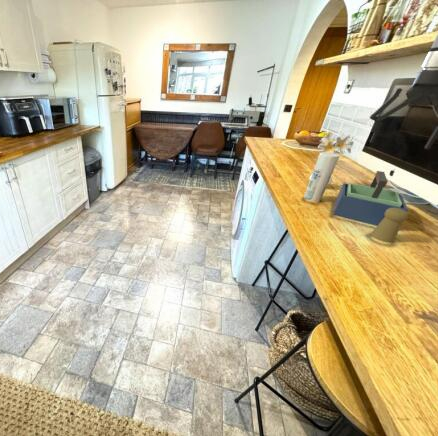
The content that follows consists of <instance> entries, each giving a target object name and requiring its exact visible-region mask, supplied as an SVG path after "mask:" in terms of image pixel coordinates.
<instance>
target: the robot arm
mask: <svg viewBox="0 0 438 436" xmlns="http://www.w3.org/2000/svg"><path fill="white" fill-rule="evenodd" d="M420 68H421V70H420V71H419V72H417V74H416V76H415V78H414V80H413V82H412V85H411V86H410V87H409V89H404V88H400V87H399V88H396V89H395V90H394V92H393V93H392V95H391V96H390V97H389V98H388V99H386V101H385V102H384V103H383V104H382V105H380V106H379V107H378V108H377V109H376V110H375V111H374V112H373V113H372V114H371V115H369V119H370V120H372V121H374V122H373V124H372V127H371V129H370V133H373V134H372V136H371V138H370V141H369V143H370V144H374V142H375V140H376V138H377V136H378V134H379V132H380V130H381V128H382V126H383V120H385V119H386V118H388V117H390V116H392V115H393V114H395V113H397V112H398V111H400V110H401V109H403V108H405V107H406V106H409V105H411V106H423V107H428V106H430V107H431V108H432V110H433V111H434V114H435V116H436V118H438V33H437V35H436V37H435V39H434V41H433V43H432V45H431V47H430V49H429V51H428V53H427V55H426V57H425V59H424V60H423V63H422V65H421V66H420ZM403 95H405V96H406V99H404V100H402V101H401V102H400V103H398V104H397V105H395V106H394V107H392V108H391V109H389V110H387V111H385V112H384V113H383V111H384V110H386V109H387V108H388V107H389V106H390V105H391V104H392V103H394V102H395V101H396V100H397V99H398V98H399V97H402V96H403ZM381 113H383V114H381ZM380 114H381V115H380ZM436 139H438V125H437V126H436V127H435V128H434V130H433V131H432V134H431V135H430V137H429V139H428V140H427V142H426V144H425V145H424V146H423V147H424V149H425V150H428V151H429V150H430V149H431V148H432V146H433V145H434V143H435V142H436Z"/></svg>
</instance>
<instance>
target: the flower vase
mask: <svg viewBox="0 0 438 436" xmlns="http://www.w3.org/2000/svg"><path fill="white" fill-rule="evenodd" d="M335 136H336V135H335V133H334V132H332V133H331V132H330V131H329V132H328V133H326V135H325V136H324V137H322V138H321V139H320V140H318V142H319V144H318V145H317V149H320V150H323V151H322V152H330V153H335V154H337V152H338V151H339V153H340V154H341V155H345V152H346V151H347V153H348V154H351V153H352V148H353V145H354V144H355V143H354V141H353V139H354V136H351V134H346V135H344V132H343V131H339V136H337V137H335ZM345 149H346V150H345ZM311 176H312V174H311V175H310V176H309V178H308V180H309V181H310V179H311ZM332 183H333V177H332V176H331V177H330V180H329V182H328V184H327V187H328V186H329V185H331V184H332Z"/></svg>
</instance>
